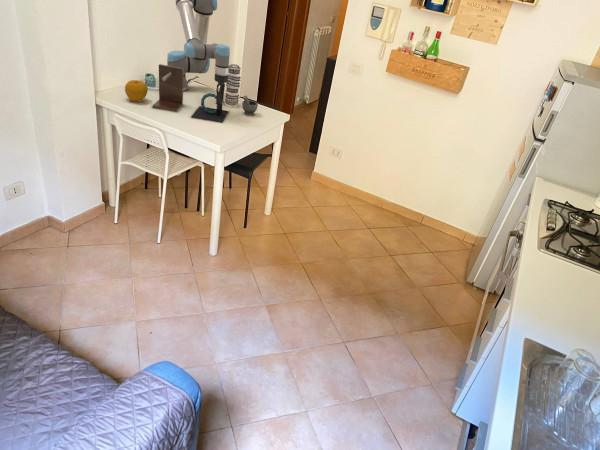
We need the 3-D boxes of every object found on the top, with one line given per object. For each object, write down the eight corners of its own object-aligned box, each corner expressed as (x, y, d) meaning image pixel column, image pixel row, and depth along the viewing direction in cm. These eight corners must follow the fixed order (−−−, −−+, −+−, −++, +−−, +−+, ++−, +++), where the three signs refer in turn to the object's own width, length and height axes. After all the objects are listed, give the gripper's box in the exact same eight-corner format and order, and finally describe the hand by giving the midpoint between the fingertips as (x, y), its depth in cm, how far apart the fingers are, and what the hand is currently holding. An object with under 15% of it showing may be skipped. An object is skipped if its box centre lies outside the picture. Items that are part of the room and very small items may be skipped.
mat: (199, 107, 266) (199, 106, 266) (228, 112, 267) (228, 110, 266) (191, 117, 249) (191, 116, 249) (222, 122, 250) (222, 121, 249)
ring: (201, 111, 258) (201, 91, 252) (220, 114, 258) (222, 95, 252) (200, 112, 256) (201, 92, 250) (220, 115, 257) (221, 95, 251)
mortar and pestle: (249, 110, 276) (250, 91, 270) (259, 114, 272) (262, 96, 265) (236, 113, 268) (238, 93, 261) (247, 117, 264) (249, 98, 257)
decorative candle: (221, 105, 276) (224, 64, 263) (227, 101, 284) (230, 62, 271) (235, 108, 275) (238, 68, 262) (240, 104, 283) (243, 65, 269)
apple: (144, 96, 266) (144, 77, 260) (151, 103, 258) (150, 84, 251) (122, 97, 259) (121, 77, 253) (128, 104, 251) (127, 84, 245)
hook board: (160, 101, 264) (159, 64, 252) (183, 104, 265) (183, 68, 253) (151, 108, 251) (150, 69, 240) (175, 112, 252) (176, 74, 240)
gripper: (217, 70, 251) (215, 109, 264) (212, 76, 238) (210, 117, 251) (230, 72, 251) (227, 111, 264) (225, 78, 239) (222, 119, 251)
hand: (219, 114), depth 257 cm, fingers closed on ring, 2 cm apart
